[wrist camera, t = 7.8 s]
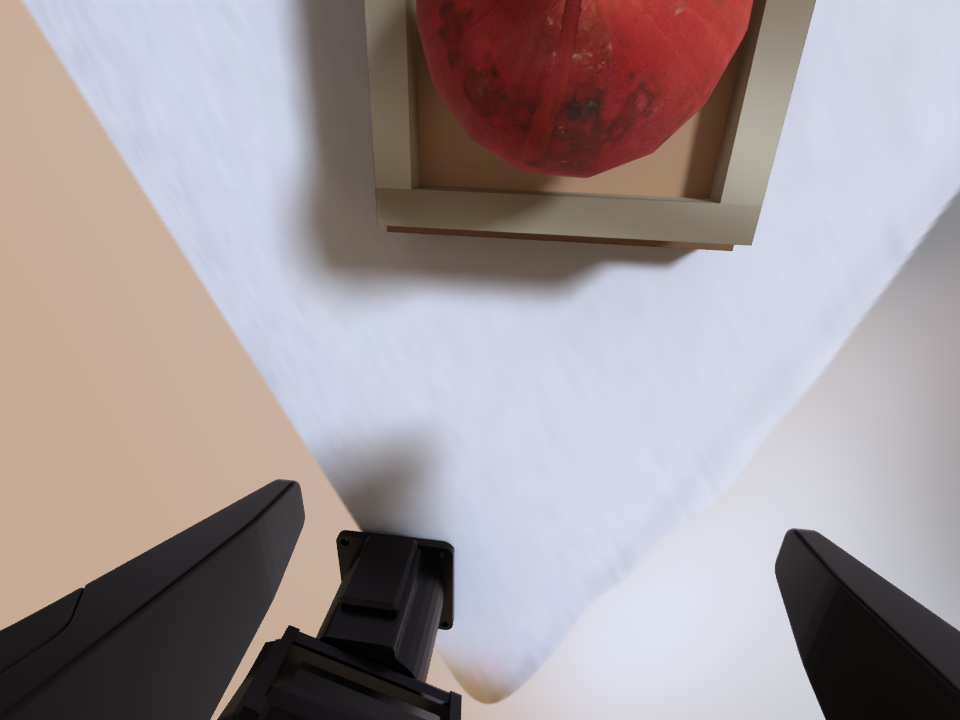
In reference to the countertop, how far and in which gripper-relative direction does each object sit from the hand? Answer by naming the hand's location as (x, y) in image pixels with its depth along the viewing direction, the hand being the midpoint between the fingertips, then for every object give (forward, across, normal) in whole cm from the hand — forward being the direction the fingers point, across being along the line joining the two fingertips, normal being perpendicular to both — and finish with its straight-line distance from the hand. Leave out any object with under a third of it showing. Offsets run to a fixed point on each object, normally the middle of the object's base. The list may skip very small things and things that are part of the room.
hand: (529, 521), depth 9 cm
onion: (+8, 0, -9) cm, 12 cm away
